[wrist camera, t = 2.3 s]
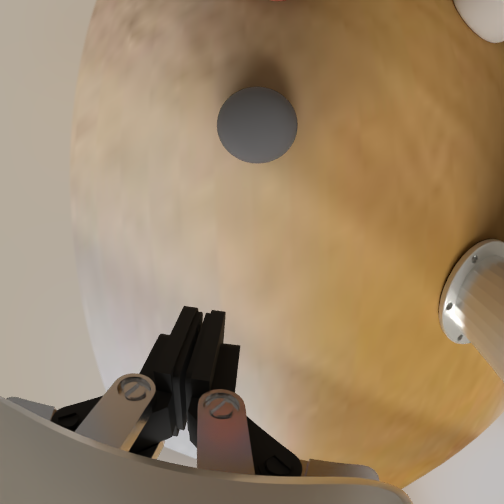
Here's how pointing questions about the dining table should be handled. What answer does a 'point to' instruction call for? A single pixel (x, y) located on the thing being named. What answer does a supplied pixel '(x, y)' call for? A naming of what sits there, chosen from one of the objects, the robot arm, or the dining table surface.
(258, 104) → the dark grey ball
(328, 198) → the dining table surface
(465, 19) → the milk bottle
